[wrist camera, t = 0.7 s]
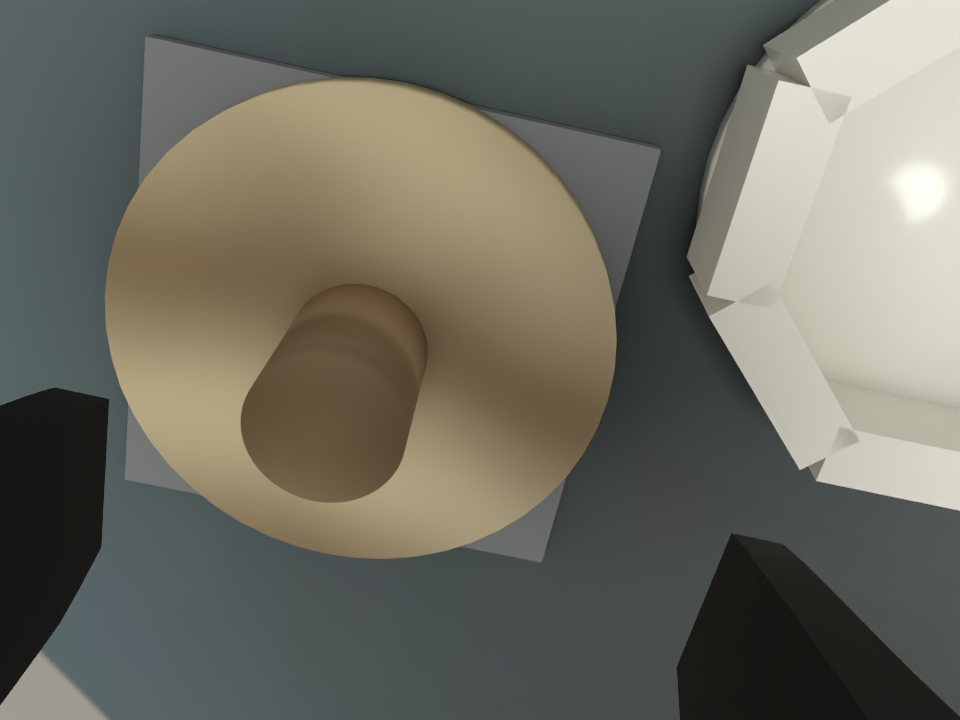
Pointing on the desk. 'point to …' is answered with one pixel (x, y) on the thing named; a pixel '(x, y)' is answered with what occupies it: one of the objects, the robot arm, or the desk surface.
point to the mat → (568, 150)
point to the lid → (362, 318)
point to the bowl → (846, 243)
